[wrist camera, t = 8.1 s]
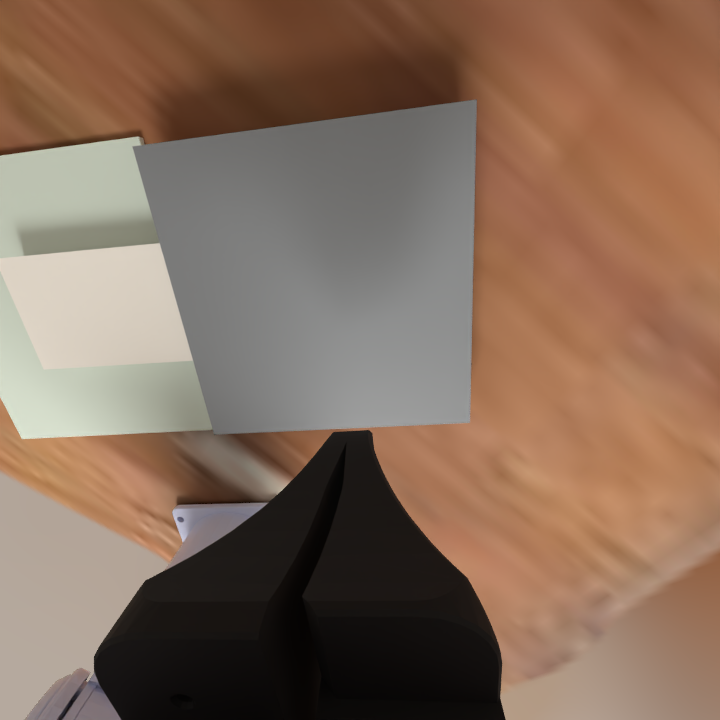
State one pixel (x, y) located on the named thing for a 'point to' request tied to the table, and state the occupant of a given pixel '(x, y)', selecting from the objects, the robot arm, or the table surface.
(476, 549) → the table surface
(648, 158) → the table surface
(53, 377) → the mat
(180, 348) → the card case
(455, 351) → the grey flat square block
